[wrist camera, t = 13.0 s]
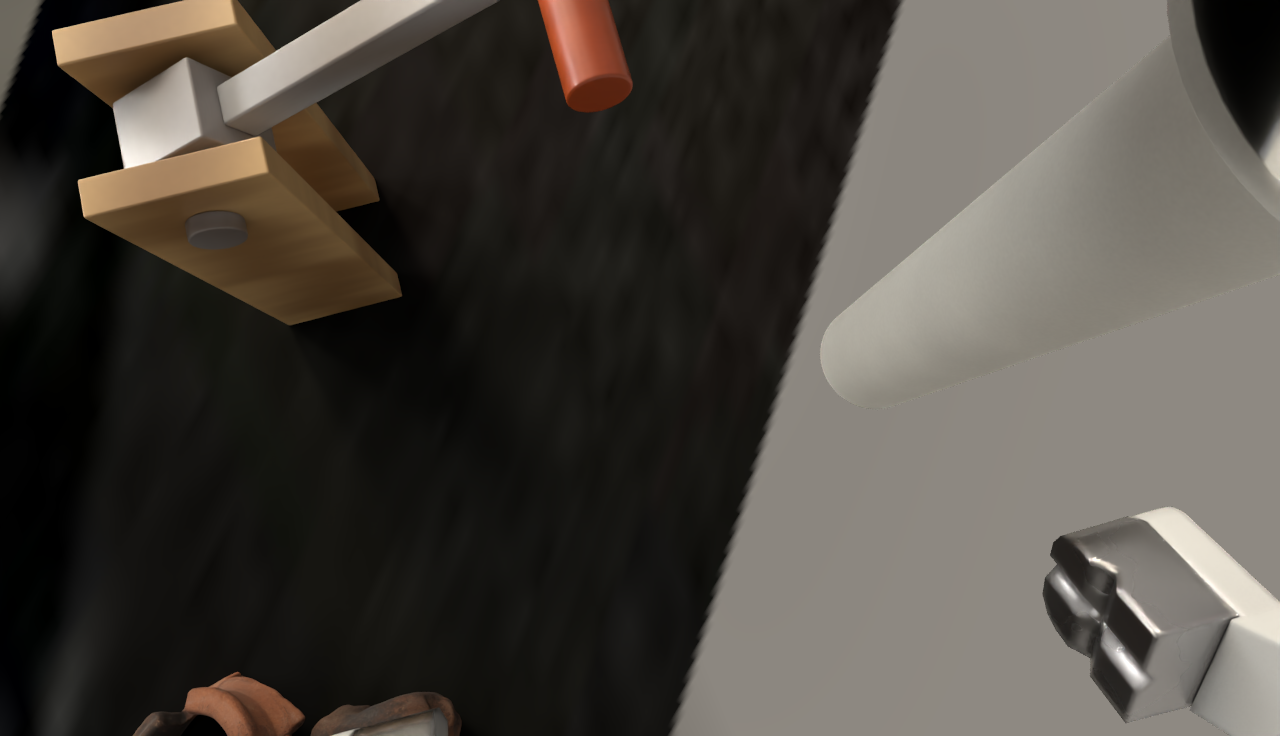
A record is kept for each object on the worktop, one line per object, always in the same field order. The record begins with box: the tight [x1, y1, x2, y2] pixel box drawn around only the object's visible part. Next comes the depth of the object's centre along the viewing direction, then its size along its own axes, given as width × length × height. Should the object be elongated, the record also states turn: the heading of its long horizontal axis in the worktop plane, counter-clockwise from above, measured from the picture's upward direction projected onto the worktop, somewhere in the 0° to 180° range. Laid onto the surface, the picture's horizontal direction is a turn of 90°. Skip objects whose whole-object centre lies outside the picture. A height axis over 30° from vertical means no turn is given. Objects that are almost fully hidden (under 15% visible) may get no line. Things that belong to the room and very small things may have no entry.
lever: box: [113, 0, 633, 169], centre depth 19 cm, size 13×8×2 cm, turn 105°
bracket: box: [52, 0, 402, 325], centre depth 26 cm, size 12×9×14 cm
